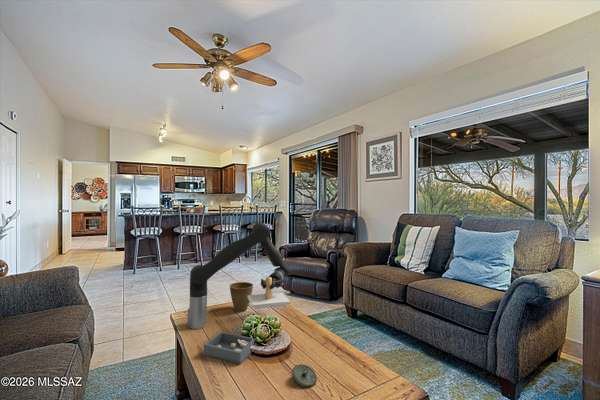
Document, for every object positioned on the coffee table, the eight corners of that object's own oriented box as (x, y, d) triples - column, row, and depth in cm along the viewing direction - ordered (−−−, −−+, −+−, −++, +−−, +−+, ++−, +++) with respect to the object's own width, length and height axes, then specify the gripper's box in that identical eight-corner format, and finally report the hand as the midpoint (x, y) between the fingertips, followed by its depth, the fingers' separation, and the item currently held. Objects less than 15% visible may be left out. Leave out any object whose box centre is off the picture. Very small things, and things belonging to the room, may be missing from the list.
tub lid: (252, 310, 144) (253, 283, 144) (247, 300, 158) (248, 275, 158) (289, 306, 151) (290, 280, 151) (282, 297, 165) (282, 273, 165)
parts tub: (203, 355, 131) (203, 344, 131) (221, 341, 144) (221, 331, 144) (240, 364, 125) (240, 353, 125) (255, 349, 138) (255, 338, 138)
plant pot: (254, 306, 193) (255, 282, 193) (248, 315, 179) (249, 289, 179) (233, 304, 195) (234, 281, 195) (225, 313, 180) (226, 287, 180)
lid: (302, 369, 123) (302, 358, 123) (321, 379, 117) (322, 366, 117) (286, 381, 115) (286, 368, 115) (306, 392, 109) (306, 379, 109)
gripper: (264, 271, 170) (254, 279, 153) (287, 273, 167) (280, 281, 150) (264, 283, 170) (254, 293, 153) (287, 286, 167) (279, 295, 150)
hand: (267, 287), depth 152 cm, fingers closed on tub lid, 3 cm apart
